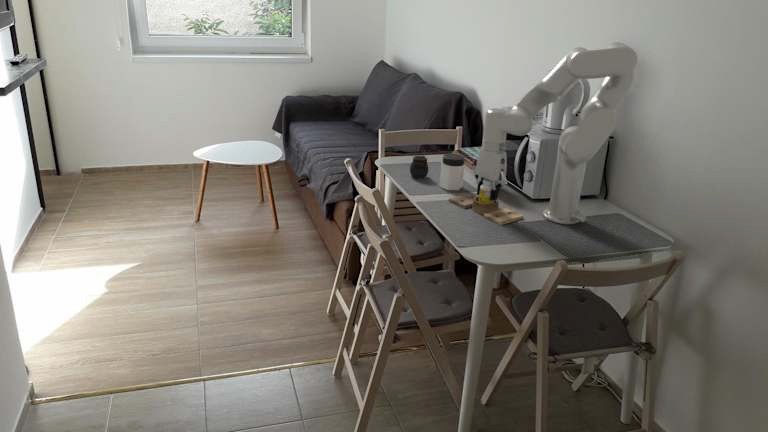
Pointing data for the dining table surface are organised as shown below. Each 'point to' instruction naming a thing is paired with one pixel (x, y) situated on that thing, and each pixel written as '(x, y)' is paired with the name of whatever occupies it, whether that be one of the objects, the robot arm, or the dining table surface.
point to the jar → (452, 172)
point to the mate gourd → (419, 166)
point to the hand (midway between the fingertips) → (487, 196)
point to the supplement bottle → (485, 192)
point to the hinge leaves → (486, 209)
